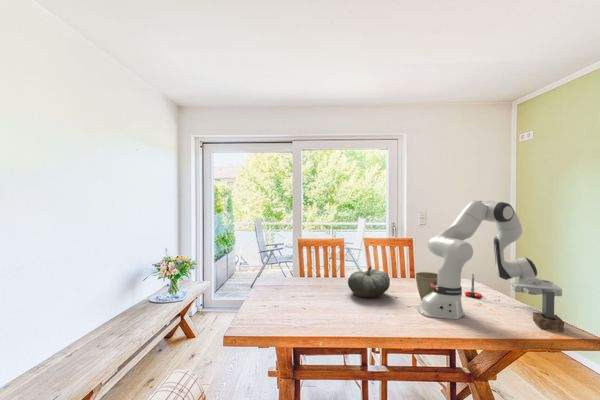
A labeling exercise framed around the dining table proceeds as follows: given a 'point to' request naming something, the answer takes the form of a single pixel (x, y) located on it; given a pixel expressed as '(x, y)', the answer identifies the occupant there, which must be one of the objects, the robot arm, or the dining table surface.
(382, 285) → the gourd
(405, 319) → the dining table surface
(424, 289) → the plant pot
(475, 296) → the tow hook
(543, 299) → the gray rectangular bar
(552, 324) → the brown square socket block
